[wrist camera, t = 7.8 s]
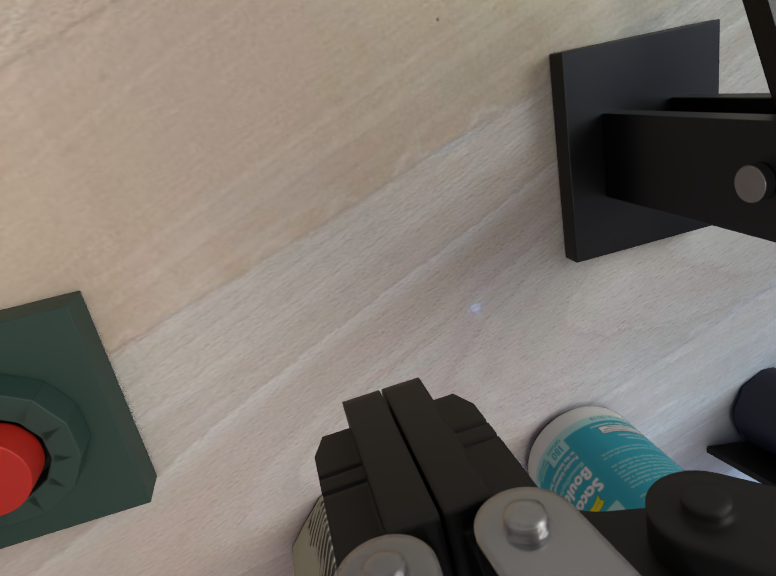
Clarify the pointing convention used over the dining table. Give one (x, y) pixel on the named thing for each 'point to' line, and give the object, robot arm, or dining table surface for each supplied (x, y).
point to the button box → (68, 419)
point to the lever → (764, 37)
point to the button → (18, 465)
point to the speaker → (754, 430)
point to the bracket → (659, 143)
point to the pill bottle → (597, 460)
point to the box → (314, 546)
